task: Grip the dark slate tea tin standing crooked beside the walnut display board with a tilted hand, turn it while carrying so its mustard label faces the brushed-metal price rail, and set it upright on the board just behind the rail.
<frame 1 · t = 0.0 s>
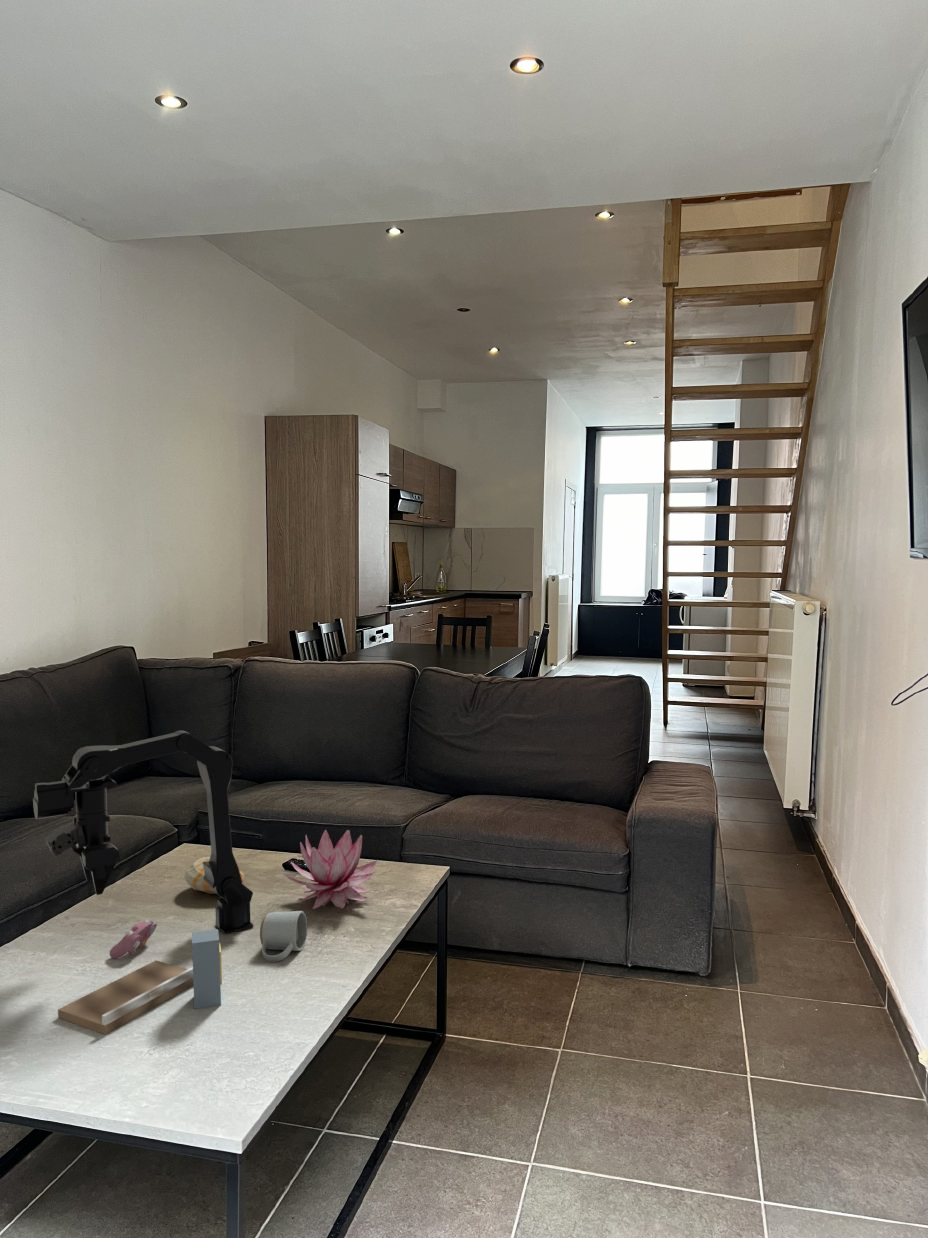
hand: (94, 887, 180), 15 cm above the table, tool pointing down, fingers open, 9 cm apart
decorative flower: (332, 902, 210), on the table
nautilus: (218, 888, 221), on the table
display board: (132, 998, 163), on the table
pink elongated piece: (134, 951, 184), on the table
ceramic mug: (283, 952, 183), on the table
tea tin: (207, 1001, 162), on the table
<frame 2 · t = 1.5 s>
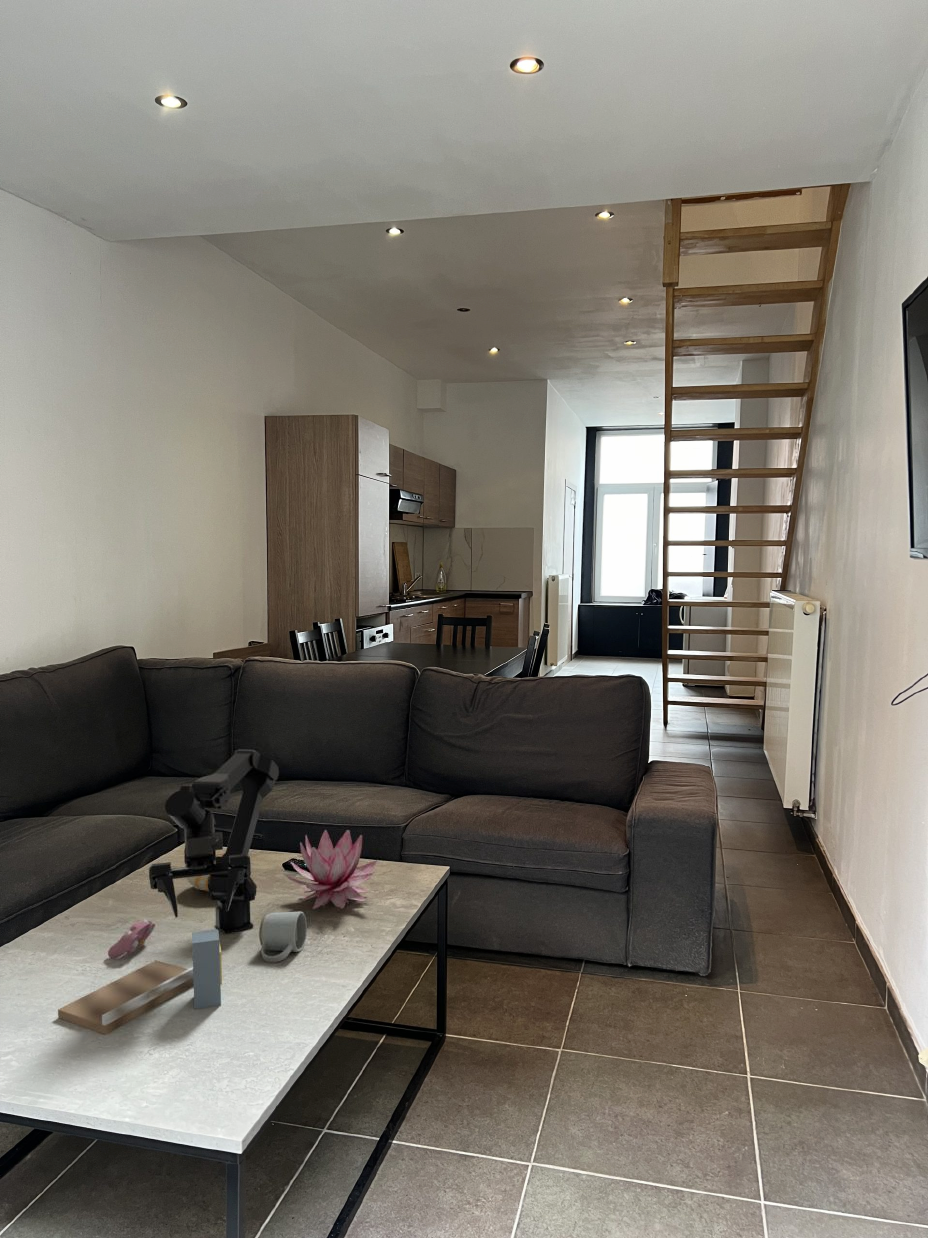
hand: (202, 913, 169), 13 cm above the table, tool tilted 45°, fingers open, 9 cm apart
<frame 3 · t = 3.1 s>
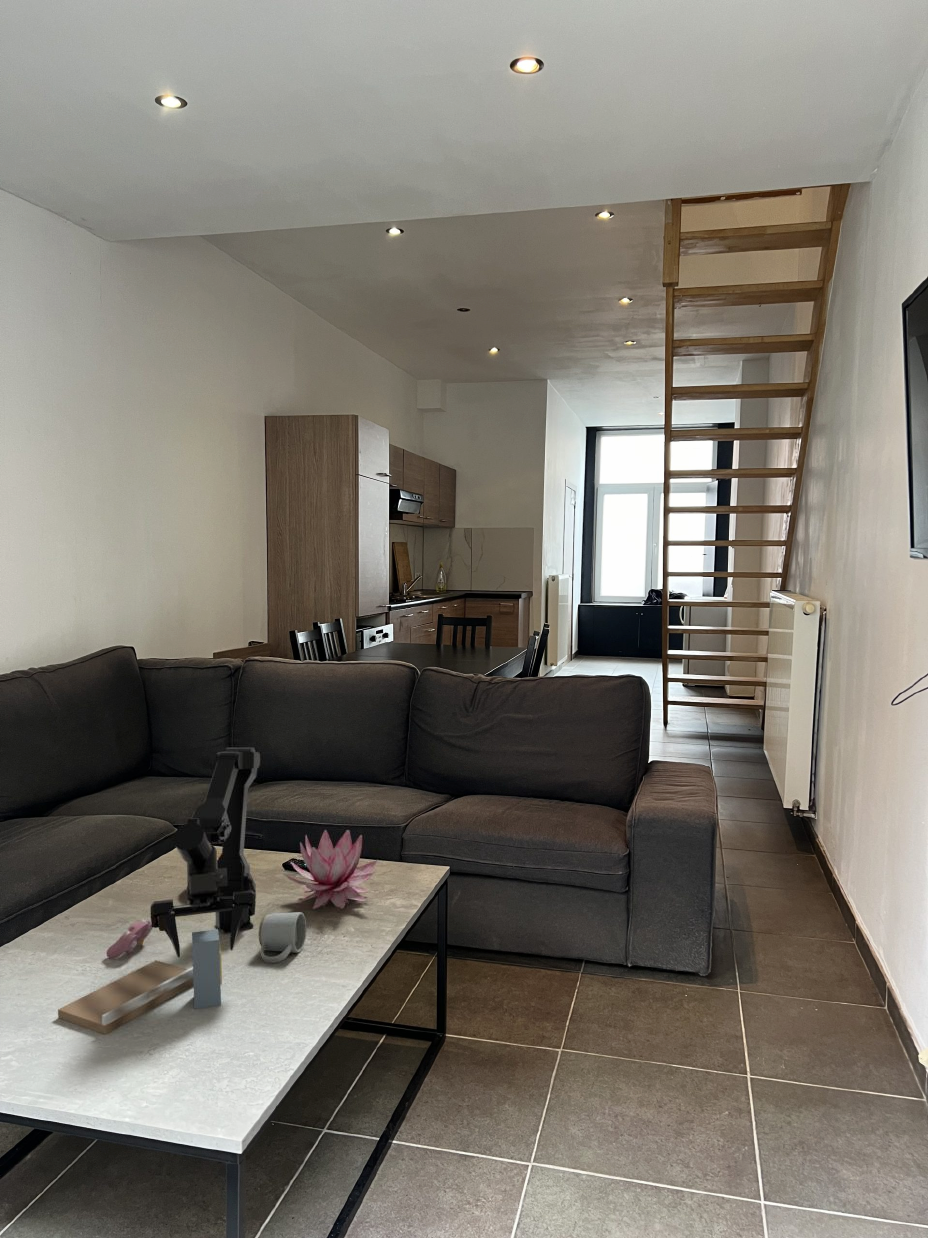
hand: (205, 953, 162), 9 cm above the table, tool tilted 45°, fingers open, 9 cm apart
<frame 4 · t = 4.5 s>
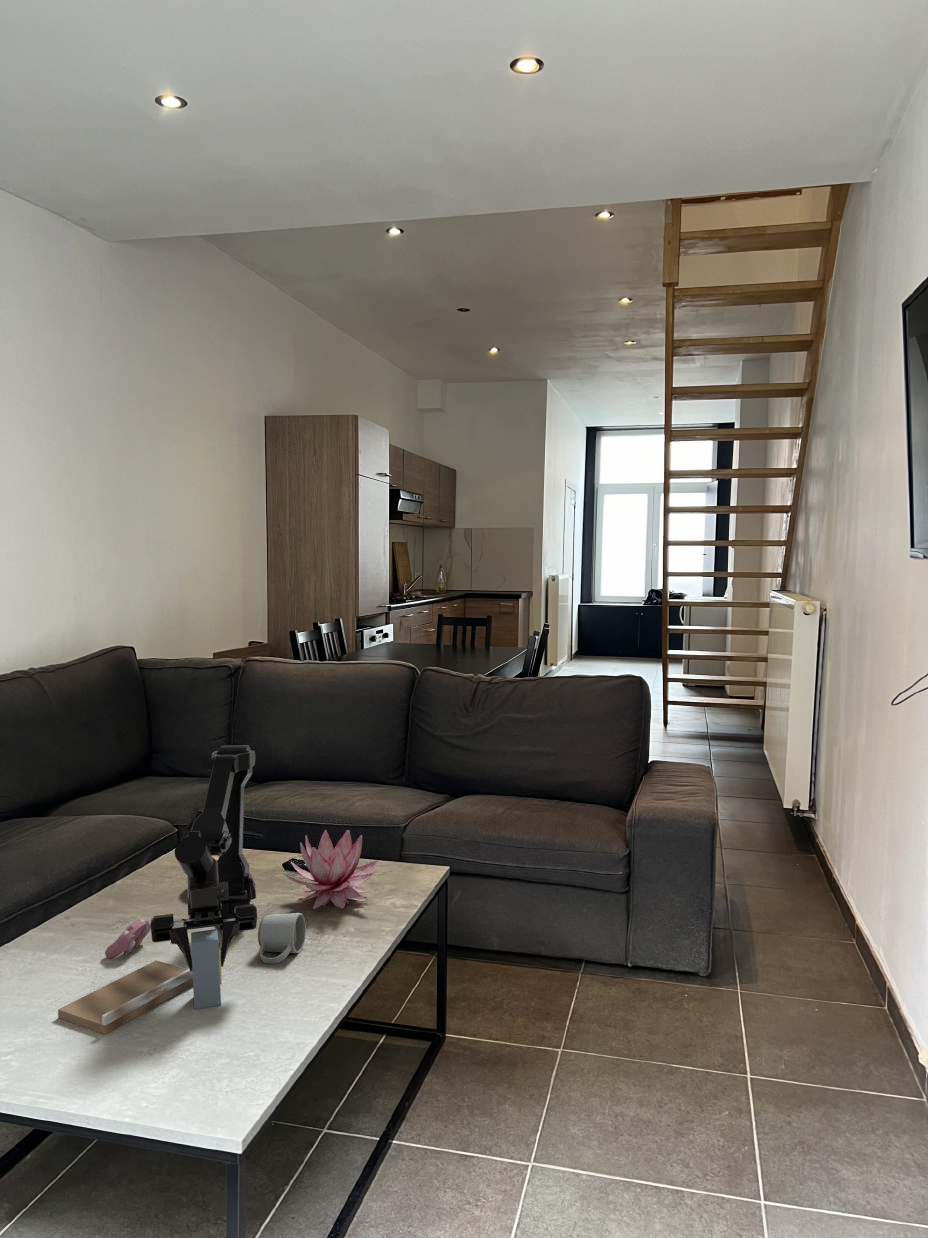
hand: (206, 968, 161), 7 cm above the table, tool tilted 45°, fingers closed on tea tin, 5 cm apart
tea tin: (207, 1000, 162), on the table, touching gripper
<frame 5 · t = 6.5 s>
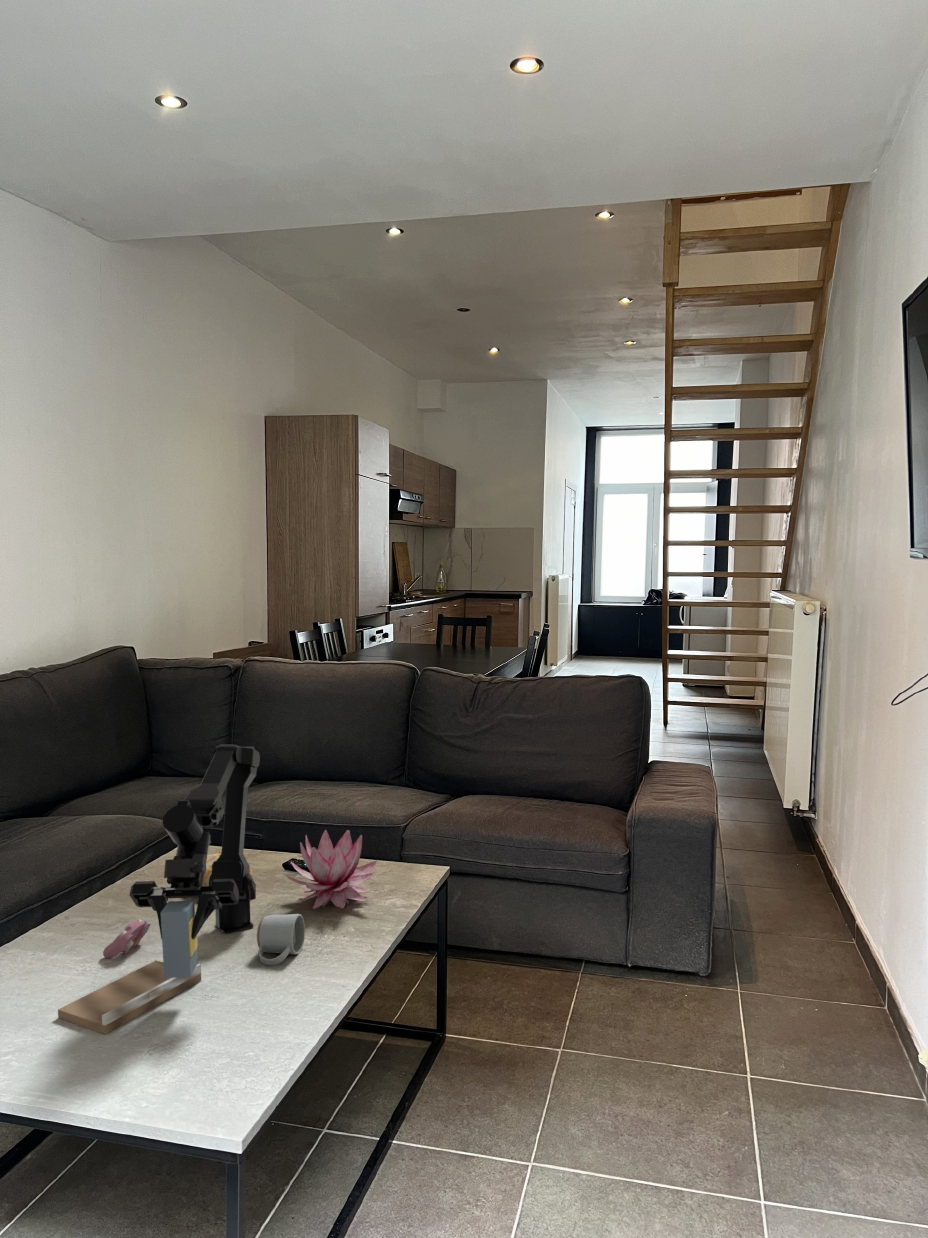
hand: (177, 939, 160), 12 cm above the table, tool tilted 45°, fingers closed on tea tin, 5 cm apart
tea tin: (181, 971, 162), point 6 cm above the table, touching gripper
when the fingers open (9 cm above the table, at t = 8.6 s): tea tin drops 1 cm, resting on display board.
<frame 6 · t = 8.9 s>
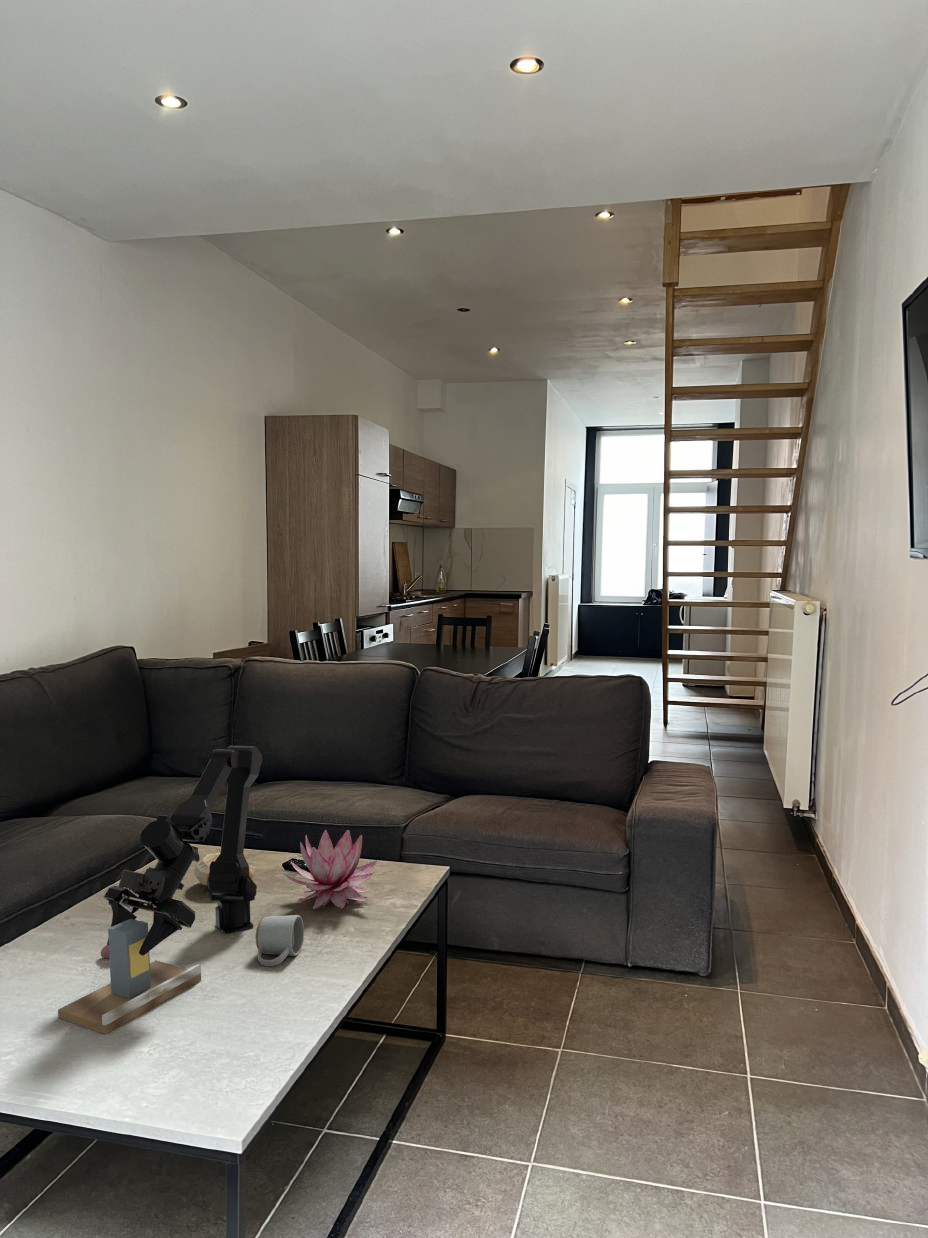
hand: (124, 950, 162), 10 cm above the table, tool tilted 45°, fingers open, 8 cm apart
tea tin: (131, 990, 163), point 2 cm above the table, touching display board
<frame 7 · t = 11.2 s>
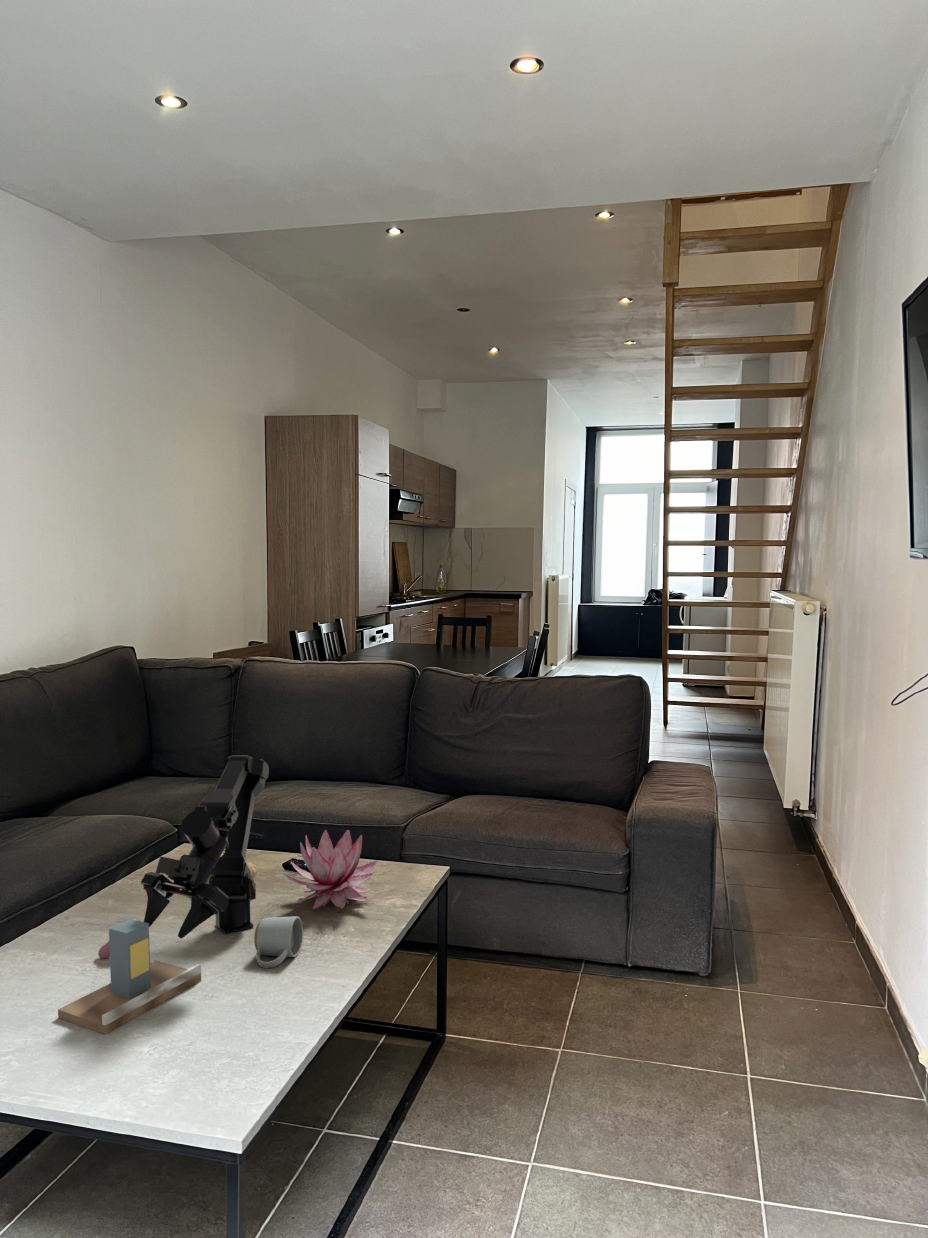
hand: (161, 933, 169), 9 cm above the table, tool tilted 45°, fingers open, 9 cm apart
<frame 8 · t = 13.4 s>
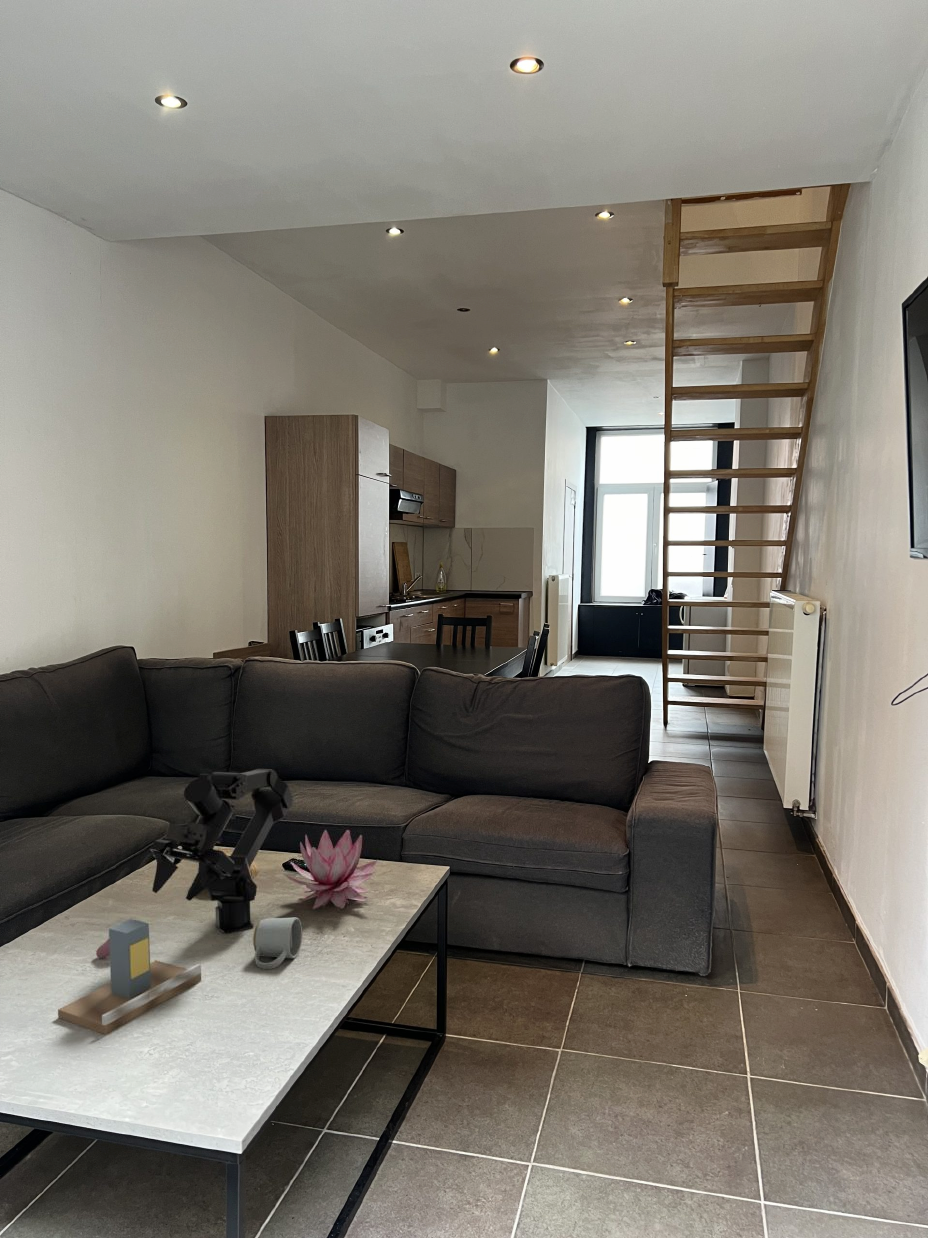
hand: (170, 896, 177), 14 cm above the table, tool tilted 45°, fingers open, 9 cm apart
at the end: tea tin 0.3 cm from the target spot, point 1.5 cm above the table; tea tin tilted 0°; the gripper is holding nothing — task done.
